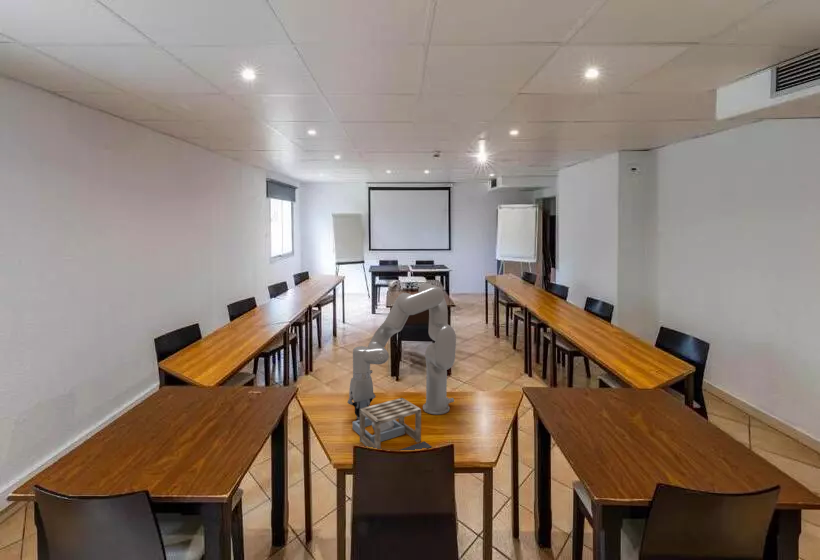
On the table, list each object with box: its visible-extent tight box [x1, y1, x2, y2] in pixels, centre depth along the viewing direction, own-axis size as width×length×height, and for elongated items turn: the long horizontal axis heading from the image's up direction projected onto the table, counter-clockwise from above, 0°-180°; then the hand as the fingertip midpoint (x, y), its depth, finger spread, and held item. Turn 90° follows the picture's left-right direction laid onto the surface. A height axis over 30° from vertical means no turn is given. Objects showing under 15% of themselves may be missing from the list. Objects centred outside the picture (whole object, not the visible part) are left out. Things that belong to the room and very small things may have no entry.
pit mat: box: [399, 441, 433, 450], centre depth 163 cm, size 12×5×1 cm, turn 124°
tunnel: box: [359, 397, 422, 449], centre depth 168 cm, size 20×14×14 cm
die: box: [371, 420, 394, 433], centre depth 174 cm, size 8×9×10 cm
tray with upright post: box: [351, 400, 406, 444], centre depth 179 cm, size 16×24×9 cm, turn 34°
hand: (361, 414), depth 188 cm, fingers closed on tray with upright post, 3 cm apart
